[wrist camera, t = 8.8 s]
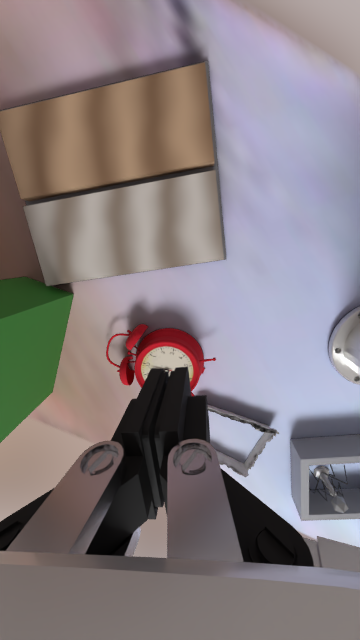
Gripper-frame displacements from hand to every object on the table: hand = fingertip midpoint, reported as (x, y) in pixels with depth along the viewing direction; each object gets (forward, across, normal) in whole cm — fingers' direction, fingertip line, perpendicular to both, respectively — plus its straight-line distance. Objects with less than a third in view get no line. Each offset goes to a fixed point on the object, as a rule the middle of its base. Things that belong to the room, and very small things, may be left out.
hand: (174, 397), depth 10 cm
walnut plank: (+23, +8, -20) cm, 32 cm away
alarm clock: (+24, +6, +8) cm, 26 cm away
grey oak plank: (+23, +8, -10) cm, 26 cm away
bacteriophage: (+25, -18, +32) cm, 45 cm away
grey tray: (+25, -20, +31) cm, 45 cm away
